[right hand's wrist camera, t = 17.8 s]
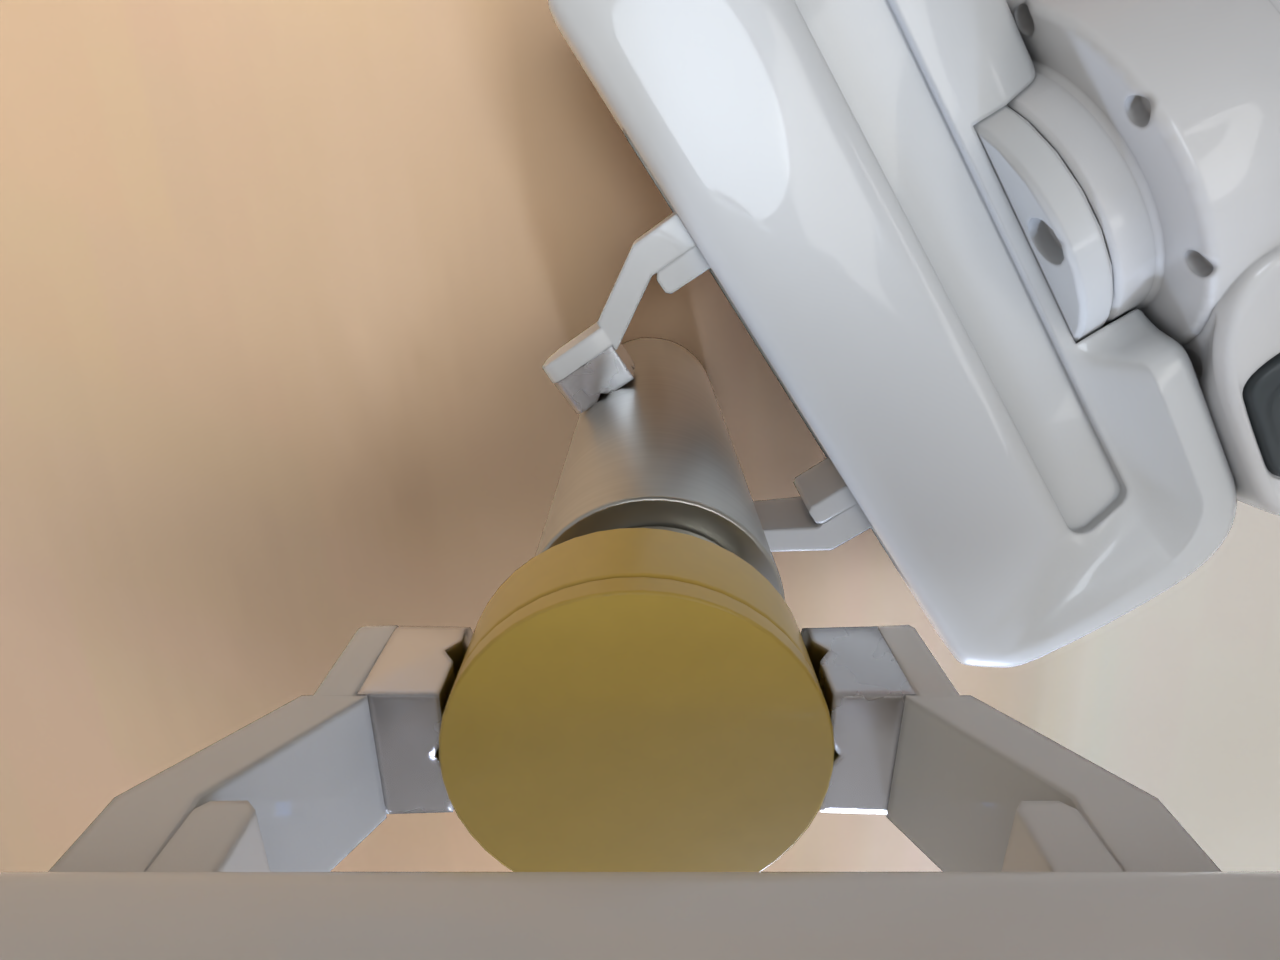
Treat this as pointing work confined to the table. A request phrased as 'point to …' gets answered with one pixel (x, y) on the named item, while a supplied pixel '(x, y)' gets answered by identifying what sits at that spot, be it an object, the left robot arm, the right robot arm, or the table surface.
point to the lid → (636, 713)
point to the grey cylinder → (658, 463)
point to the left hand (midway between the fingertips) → (623, 471)
